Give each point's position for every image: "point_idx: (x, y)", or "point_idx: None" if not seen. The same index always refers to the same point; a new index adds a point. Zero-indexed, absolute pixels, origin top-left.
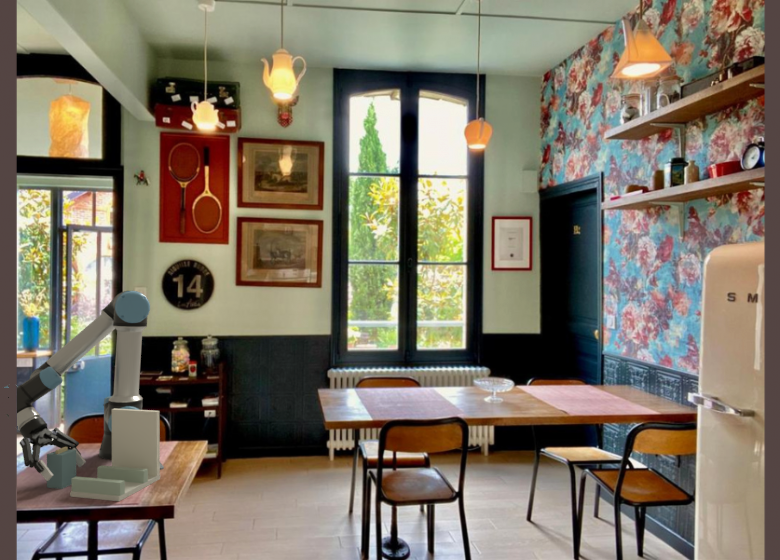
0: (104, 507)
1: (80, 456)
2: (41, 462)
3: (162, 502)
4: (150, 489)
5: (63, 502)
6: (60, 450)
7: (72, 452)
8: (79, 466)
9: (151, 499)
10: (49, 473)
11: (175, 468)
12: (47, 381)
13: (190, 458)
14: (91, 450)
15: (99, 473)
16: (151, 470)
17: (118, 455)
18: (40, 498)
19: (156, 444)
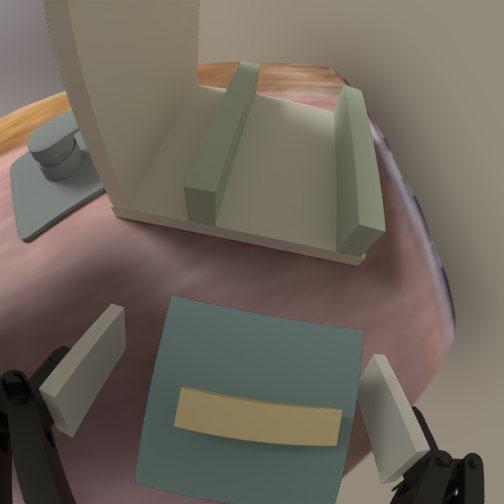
0: (386, 145)
1: (95, 333)
2: (422, 435)
3: (327, 74)
4: (263, 92)
5: (399, 258)
6: (300, 407)
7: (225, 309)
8: (123, 349)
9: (320, 85)
10: (390, 369)
11: None
12: None
13: (40, 107)
14: None
15: (218, 201)
16: (191, 81)
17: (127, 124)
18: None
19: (199, 2)
